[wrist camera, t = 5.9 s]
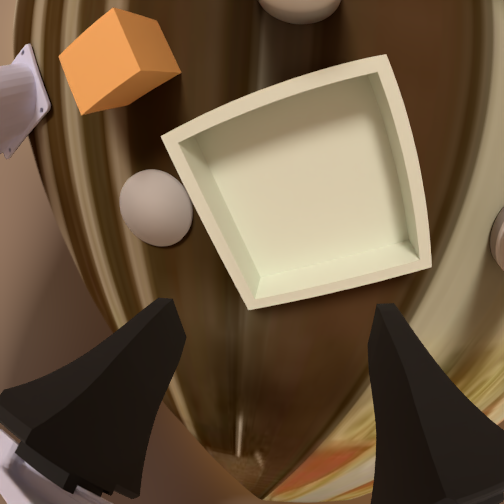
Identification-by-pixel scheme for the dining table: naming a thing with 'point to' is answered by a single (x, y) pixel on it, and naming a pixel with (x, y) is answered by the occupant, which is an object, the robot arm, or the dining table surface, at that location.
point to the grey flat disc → (156, 207)
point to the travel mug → (498, 239)
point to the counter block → (117, 61)
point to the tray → (309, 184)
